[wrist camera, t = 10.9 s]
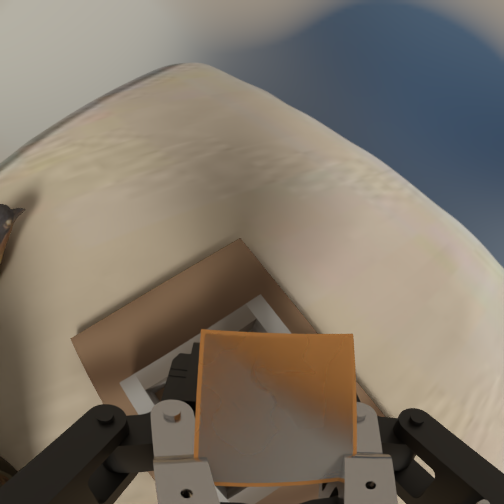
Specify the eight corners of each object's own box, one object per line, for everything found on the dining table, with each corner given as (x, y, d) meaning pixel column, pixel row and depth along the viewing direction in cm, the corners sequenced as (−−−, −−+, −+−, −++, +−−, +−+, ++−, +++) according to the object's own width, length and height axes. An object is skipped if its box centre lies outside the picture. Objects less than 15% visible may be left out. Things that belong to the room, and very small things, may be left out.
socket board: (75, 341, 21) (53, 327, 18) (239, 244, 27) (242, 216, 24) (240, 566, 14) (244, 590, 10) (401, 444, 19) (430, 446, 16)
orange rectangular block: (281, 457, 14) (354, 502, 5) (209, 456, 14) (192, 509, 5) (283, 367, 17) (350, 308, 8) (213, 364, 16) (203, 301, 8)
